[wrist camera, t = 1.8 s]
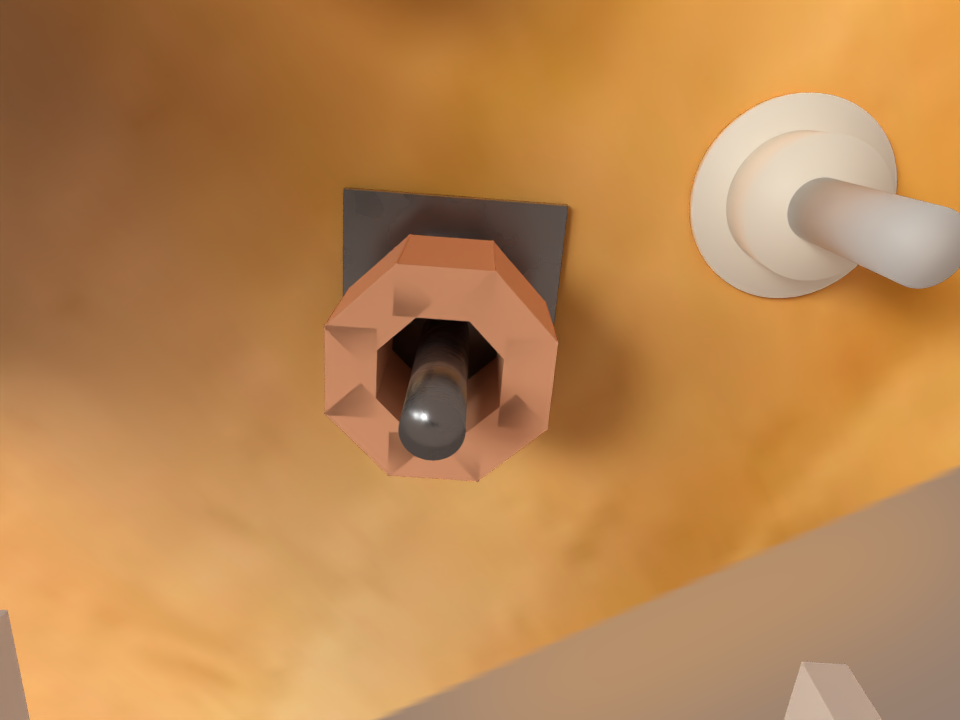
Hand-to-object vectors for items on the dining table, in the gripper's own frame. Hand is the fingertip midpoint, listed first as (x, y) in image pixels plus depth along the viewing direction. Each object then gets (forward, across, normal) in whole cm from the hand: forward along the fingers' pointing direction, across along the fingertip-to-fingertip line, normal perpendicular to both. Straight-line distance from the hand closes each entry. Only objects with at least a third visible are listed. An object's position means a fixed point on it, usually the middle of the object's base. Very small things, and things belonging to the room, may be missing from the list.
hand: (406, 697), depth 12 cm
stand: (+23, 0, 0) cm, 23 cm away
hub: (+23, +15, +6) cm, 28 cm away
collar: (+19, 0, 0) cm, 19 cm away
